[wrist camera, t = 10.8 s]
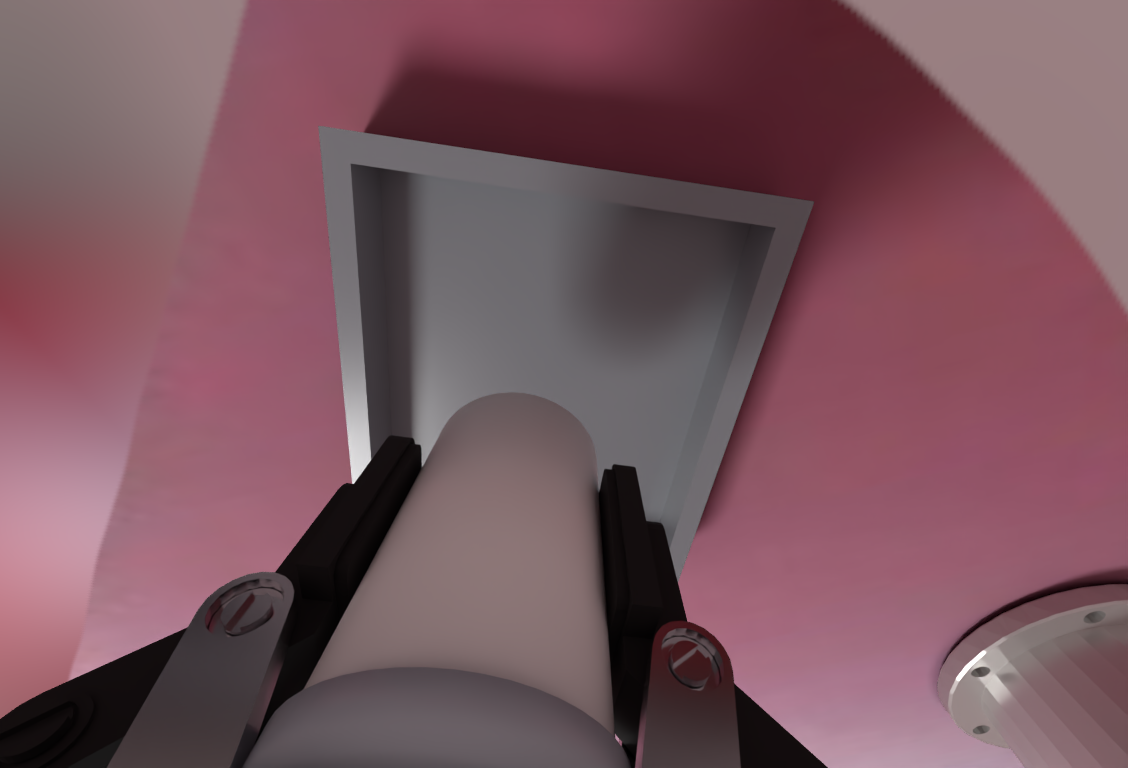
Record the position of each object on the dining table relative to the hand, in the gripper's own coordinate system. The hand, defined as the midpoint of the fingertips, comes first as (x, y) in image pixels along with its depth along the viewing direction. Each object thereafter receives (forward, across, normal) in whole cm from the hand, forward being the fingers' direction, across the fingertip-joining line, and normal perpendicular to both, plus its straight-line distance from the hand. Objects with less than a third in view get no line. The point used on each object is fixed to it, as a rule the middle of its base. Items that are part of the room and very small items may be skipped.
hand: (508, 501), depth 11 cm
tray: (+7, 0, 0) cm, 7 cm away
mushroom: (+2, 0, 0) cm, 2 cm away
